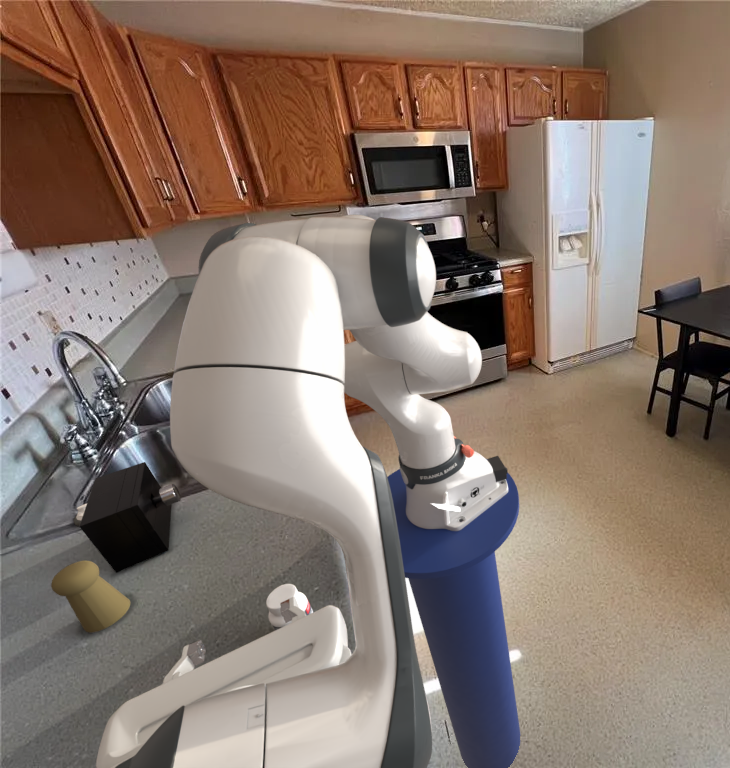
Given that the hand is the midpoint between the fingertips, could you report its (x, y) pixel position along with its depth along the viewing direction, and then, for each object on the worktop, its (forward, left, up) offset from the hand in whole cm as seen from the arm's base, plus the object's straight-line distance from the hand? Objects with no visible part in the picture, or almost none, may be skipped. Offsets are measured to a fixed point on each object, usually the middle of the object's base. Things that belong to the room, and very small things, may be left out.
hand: (244, 623), depth 47 cm
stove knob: (+29, -68, -18) cm, 76 cm away
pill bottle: (-3, -10, -18) cm, 20 cm away
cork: (+23, -34, -18) cm, 45 cm away
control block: (+19, -52, -17) cm, 58 cm away
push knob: (+14, -52, -12) cm, 55 cm away
